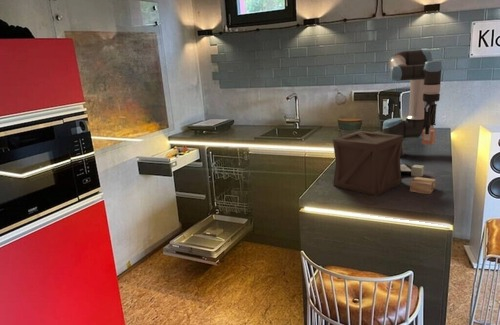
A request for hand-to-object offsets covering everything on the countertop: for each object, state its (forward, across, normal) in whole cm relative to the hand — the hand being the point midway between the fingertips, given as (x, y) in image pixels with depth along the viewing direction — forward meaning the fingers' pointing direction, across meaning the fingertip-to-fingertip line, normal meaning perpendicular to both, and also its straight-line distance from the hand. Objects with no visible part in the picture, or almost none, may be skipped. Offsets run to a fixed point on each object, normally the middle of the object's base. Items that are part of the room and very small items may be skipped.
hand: (428, 138), depth 194 cm
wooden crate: (+21, +22, -23) cm, 38 cm away
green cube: (+21, -4, -5) cm, 22 cm away
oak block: (+21, +18, +3) cm, 28 cm away
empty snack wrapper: (+22, -5, -25) cm, 33 cm away
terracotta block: (+2, 0, 0) cm, 2 cm away
